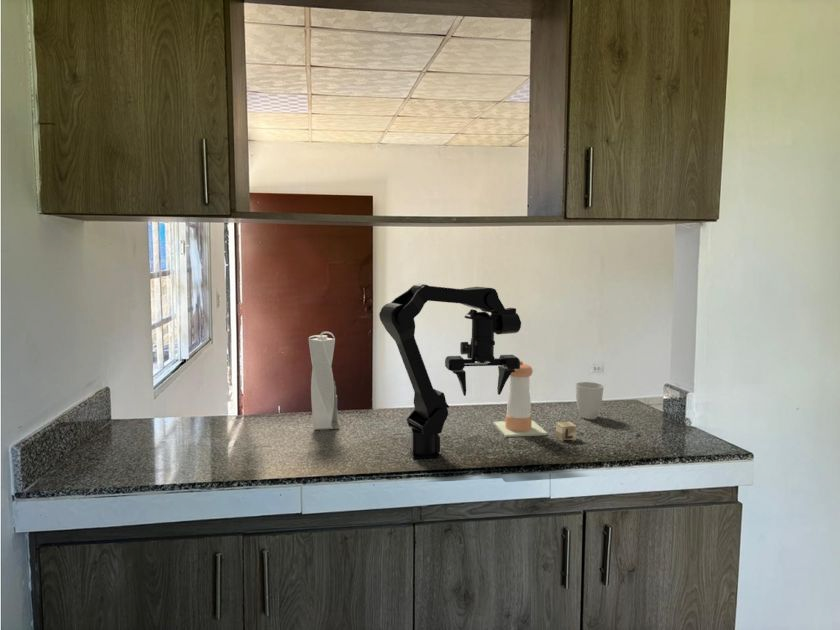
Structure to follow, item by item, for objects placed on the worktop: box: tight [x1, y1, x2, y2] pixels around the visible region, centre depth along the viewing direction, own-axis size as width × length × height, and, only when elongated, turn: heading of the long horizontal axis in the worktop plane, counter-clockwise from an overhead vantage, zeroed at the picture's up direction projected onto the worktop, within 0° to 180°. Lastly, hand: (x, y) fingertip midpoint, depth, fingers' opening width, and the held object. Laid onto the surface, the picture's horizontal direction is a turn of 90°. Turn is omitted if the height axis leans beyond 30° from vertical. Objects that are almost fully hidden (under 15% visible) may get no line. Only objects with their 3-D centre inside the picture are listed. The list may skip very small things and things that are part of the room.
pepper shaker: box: [505, 360, 533, 431], centre depth 158 cm, size 7×7×19 cm
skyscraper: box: [308, 331, 340, 431], centre depth 158 cm, size 8×8×28 cm
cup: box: [575, 381, 605, 420], centre depth 171 cm, size 8×8×10 cm
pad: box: [492, 419, 549, 438], centre depth 159 cm, size 12×12×1 cm
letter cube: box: [555, 421, 577, 442], centre depth 151 cm, size 4×4×4 cm
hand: (481, 394), depth 146 cm, fingers open, 9 cm apart
